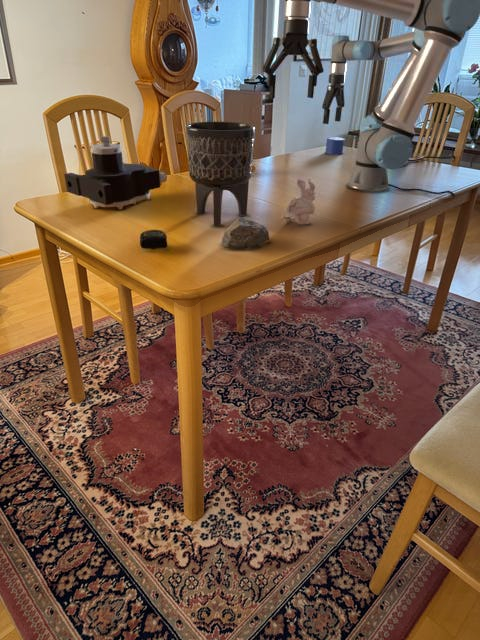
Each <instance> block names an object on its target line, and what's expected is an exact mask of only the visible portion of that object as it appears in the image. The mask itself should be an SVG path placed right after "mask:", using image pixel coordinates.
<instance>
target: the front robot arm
mask: <svg viewBox="0 0 480 640" xmlns="http://www.w3.org/2000/svg"><path fill="white" fill-rule="evenodd" d="M312 1H313V2H315V3H326V4H330V5H336V6H341V7H344V8H348V9H352V10H356V11H360V12H363V13H368V14H372V15H377V16H381V17H384V18H387V19H388V18H389V19H392V20H396V21H401V22H403V25H404V26H405V27H409V28H412V29H418V30H421V31H424V32H423V34H424V38H425V41H424V44H423V46H422V48H421V50H420V52H419V55H418V57H417V59H416V61H415V64H414V66H413V68H412V70H411V72H410V75H409V77H408V79H407V81H406V83H405V86H404V88H403V90H402V92H401V94H400V97H399V99H398V101H397V103H396V106H395V108H394V110H393V112H392V114H391V117H390V118H389V119H387V120H385V121H383V123H382V125H363V126H362V127H361V131H360V130H359V134H358V146H357V150H356V151H357V152H356V159H355V164H354V165H355V166H354V167H353V171H351V174H350V171H349V173H348V174H349V175H350V176H349V179H348V182H347V187H348V188H349V189H351V190H354V191H358V192H363V193H364V192H365V193H382V192H386V191H388V189H389V187H390V188H394V189H396V190H399V191H405V192H406V191H419V192H424V193H428V194H432V195H442V194H451V196H455V193H454V192H453V191H451V190H443V191H433V190H432V191H431V190H427V189H422V188H417V187H416V188H413V187H412V188H403V187H399V186H397V185H394V184H390V183H389V178H388V173H387V172H388V171H387V170H391V171H392V170H397V169H400V168H401V167H404V166H403V165H404V164H405V163H406V162H407V163H408V162H409V161H408V160H410V158H411V156H412V154H413V143H412V142H413V140H414V137H415V136H416V131H415V126H416V123H417V120H418V119H419V117H420V115H421V113H422V110H423V108H424V106H425V104H426V102H427V101H428V98H429V97H430V93H431V92H432V89H433V88H434V86H435V84H436V81H437V79H438V77H439V76H440V73H441V71H442V69H443V67H444V65H445V63H446V61H447V59H448V56H449V54H450V53H451V51H452V49H454V48H456V47H457V46H459V45H460V43H461V42H462V41H461V39H462V37H463V35H464V33H465V32H466V33H467V32H468V31H470V30H471V29H472V28H473V27H474V26H475V25H476V24H477V22H478V21H479V19H480V0H285V1H284V18H285V19H284V21H283V37H282V38H280V37H274V38H273V39H272V46H271V48H270V50H269V53H268V55H267V57H266V59H265V62H264V64H263V66H262V68H261V71H262V72H263V73H265V74H267V81H266V82H267V83H266V84H267V87H269V94H268V95H269V96H268V98H269V99H275V98H276V83H277V82H276V81H277V76H276V75H277V74H275V72H276V71H277V69H279V67H280V65H281V64H282V63H283V61H284V60H285V59H286V58H287V57H288V56H300V57H301V58H302V60H303V62H304V63H305V65H306V67H307V68H308V70H309V72H310V74H309V75H308V84H307V96H306V97H307V99H314V94H315V93H314V92H315V87H317V84H318V77H319V75H320V74H323V73H324V67H323V63H322V60H321V56H320V52H319V50H318V39H317V38H310V39H308V36H309V28H310V21H309V20H308V19H310V15H311V4H312V3H311V2H312ZM466 33H465V34H466ZM462 40H463V39H462ZM460 41H461V42H460ZM281 45H282V47H283V48H282V50H281V51H280V53H279V55H278V56H277V57H276V55H277V54H278V53H277V52H278V51H279V49H280V47H281ZM307 47H309V49H310V53H311V54H310V55H311V56H312V59H311V57H310V55H309V51H308V50H307ZM275 58H276V59H275ZM407 163H406V164H407Z"/></svg>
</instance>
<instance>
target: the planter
mask: <svg viewBox="0 0 480 640" xmlns="http://www.w3.org/2000/svg"><path fill="white" fill-rule="evenodd" d="M255 132H256V127H255V126H254V125H253V124H251V123H244V122H236V121H197V122H191V123H187V124H186V125H185V137H186V139H185V141H186V151H187V164H188V176H189V177H190V180H191V181H192V182H194V183H195V185H194V186H195V200H196V213H197V214H201V215H202V214H205V213H206V205H207V201H208V198H209V196H210V195H211V194H212V200H213V201H212V203H213V205H212V206H213V227H221V225H222V205H223V194H224V191H227V192H230V193H231V194H233V196H234V198H235V200H236V202H237V203H236V204H237V206H238V215H240V216H243V217H244V216H247V215H248V214H247V213H248V202H249V201H248V199H249V185H250V180H251V177H252V173H253V172H252V160H254V159H253V158H254V145H255V134H256V133H255Z"/></svg>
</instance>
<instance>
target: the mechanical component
mask: <svg viewBox="0 0 480 640" xmlns="http://www.w3.org/2000/svg"><path fill="white" fill-rule="evenodd" d="M122 149H123V148H122V145H121V144H118V143H111V139H110V136H109V135H103V136H100V143H97V144H93V145H91V146H90V151H91V157H92V165H93V167H92V168H88V169H86V171H85V172H84V173H85V174H78V173H73V172H68V173H67V172H66V173H64V174H63V176H64V181H65V186H66V192H67V193H69V194H72V195H75V196H78V197H83V198H85V199H88V201H89V203H90V204H91V205H93V206H94V207H93V208H95V209H98V208H100V207H102V208H117V210H123V207H124V206H128V205H136V204H137V202H138V201H143V200H146V201H148V200H150V196H151V190H155V189H160V188H161V186H162V184H163V183H165V182H167V180H168V176H167V174H166V172H162V171H161V172H160V170H159V169H155V168H152V167H149V166H147V165H145V164H141V163H124V160H123V150H122Z"/></svg>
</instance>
